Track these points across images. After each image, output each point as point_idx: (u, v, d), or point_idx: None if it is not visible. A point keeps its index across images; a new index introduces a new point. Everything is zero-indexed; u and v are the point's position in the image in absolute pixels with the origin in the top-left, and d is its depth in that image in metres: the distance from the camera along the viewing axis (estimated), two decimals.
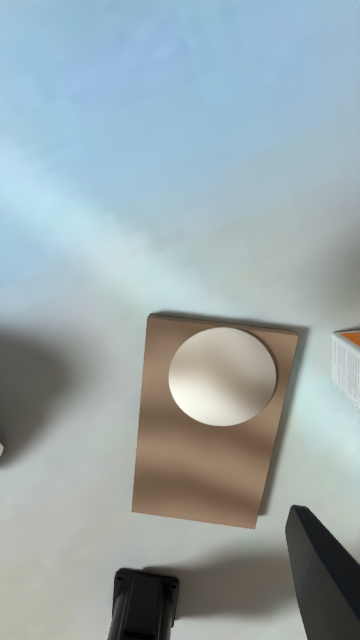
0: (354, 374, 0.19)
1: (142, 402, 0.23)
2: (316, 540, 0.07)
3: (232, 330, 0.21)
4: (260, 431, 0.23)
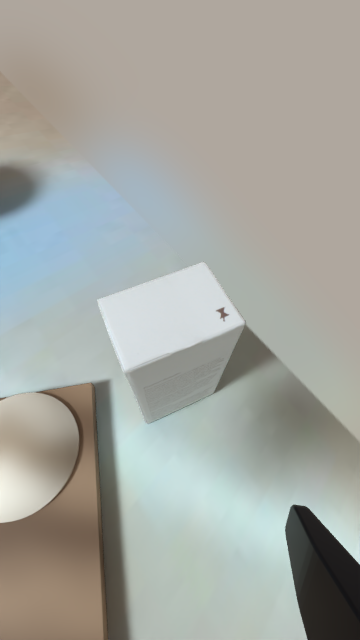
0: None
1: None
2: (316, 540, 0.07)
3: (24, 393, 0.21)
4: (76, 510, 0.18)
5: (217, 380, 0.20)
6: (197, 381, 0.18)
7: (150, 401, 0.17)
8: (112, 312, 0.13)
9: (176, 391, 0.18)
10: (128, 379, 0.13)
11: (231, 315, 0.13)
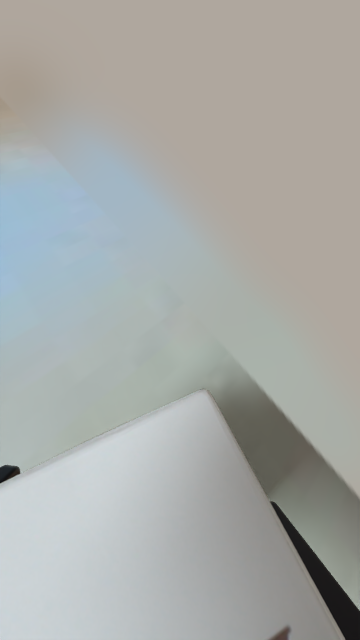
0: None
1: None
2: None
3: None
4: None
5: None
6: None
7: None
8: None
9: None
10: None
11: None
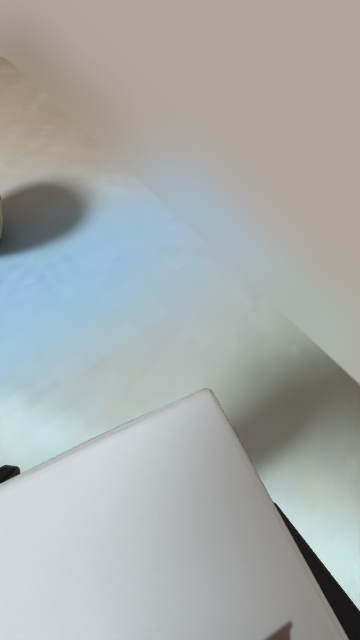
0: None
1: None
2: None
3: None
4: None
5: None
6: None
7: None
8: None
9: None
10: None
11: None
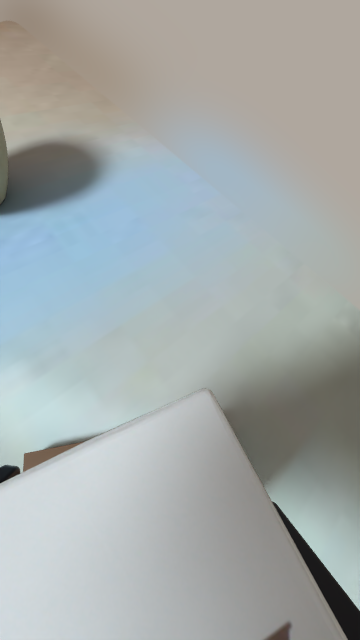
0: None
1: None
2: None
3: None
4: None
5: None
6: None
7: None
8: None
9: None
10: None
11: None
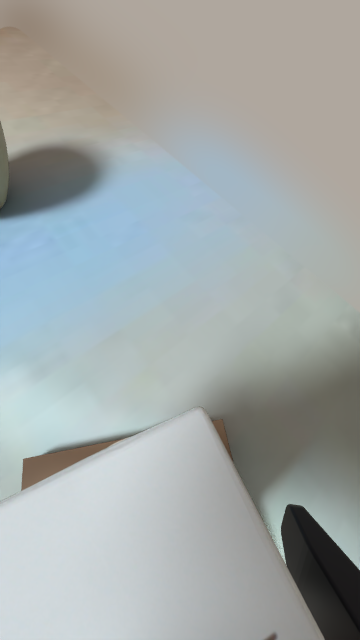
0: None
1: None
2: (311, 539, 0.07)
3: None
4: None
5: None
6: None
7: None
8: None
9: None
10: None
11: None
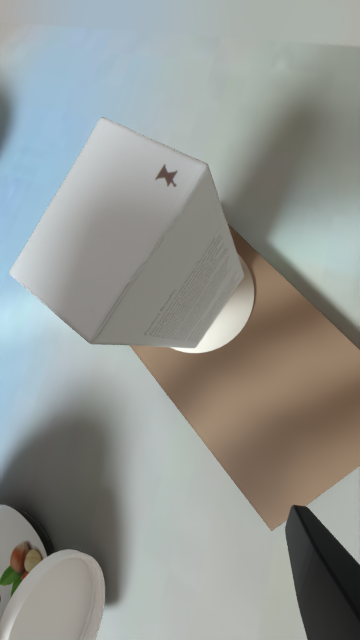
0: None
1: (160, 382, 0.20)
2: (316, 540, 0.07)
3: None
4: (279, 302, 0.18)
5: (236, 262, 0.15)
6: (210, 280, 0.14)
7: (172, 335, 0.14)
8: (33, 277, 0.09)
9: (194, 306, 0.14)
10: (109, 343, 0.09)
11: (181, 169, 0.08)
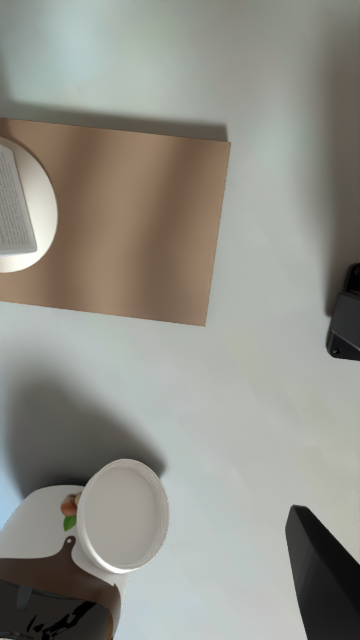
0: None
1: (43, 303, 0.20)
2: (316, 540, 0.07)
3: None
4: (61, 148, 0.17)
5: None
6: None
7: None
8: None
9: None
10: None
11: None
